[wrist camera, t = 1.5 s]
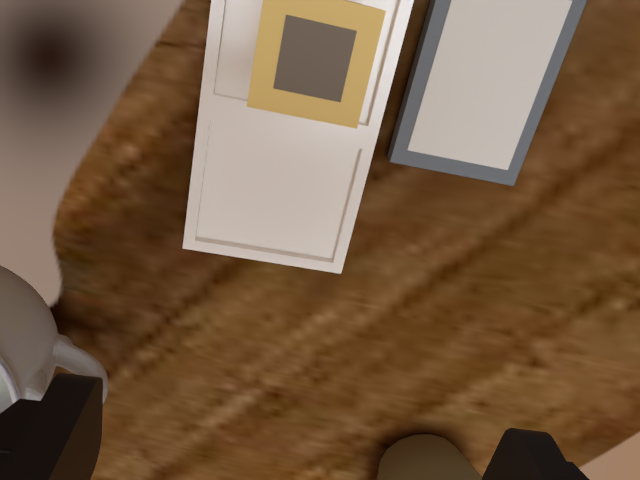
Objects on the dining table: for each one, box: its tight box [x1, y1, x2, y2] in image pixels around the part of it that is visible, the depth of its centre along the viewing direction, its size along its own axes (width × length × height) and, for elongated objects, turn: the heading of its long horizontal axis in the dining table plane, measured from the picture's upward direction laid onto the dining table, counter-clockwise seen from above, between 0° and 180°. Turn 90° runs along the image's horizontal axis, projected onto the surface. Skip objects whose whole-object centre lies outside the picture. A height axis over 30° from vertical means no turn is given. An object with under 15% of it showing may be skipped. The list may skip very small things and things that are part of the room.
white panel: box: [183, 104, 377, 274], centre depth 28 cm, size 8×9×1 cm
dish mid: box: [199, 0, 414, 140], centre depth 25 cm, size 8×9×1 cm
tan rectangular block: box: [247, 0, 386, 129], centre depth 21 cm, size 4×4×8 cm
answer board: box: [387, 0, 587, 186], centre depth 26 cm, size 10×7×1 cm
